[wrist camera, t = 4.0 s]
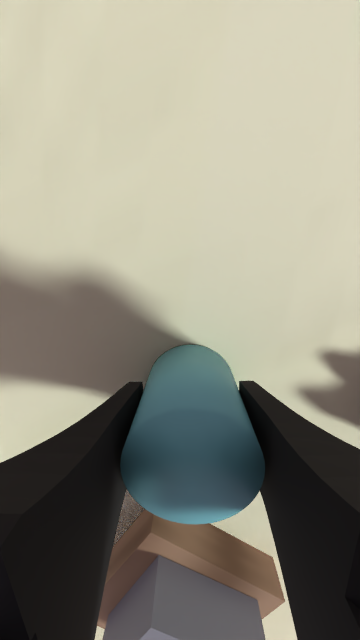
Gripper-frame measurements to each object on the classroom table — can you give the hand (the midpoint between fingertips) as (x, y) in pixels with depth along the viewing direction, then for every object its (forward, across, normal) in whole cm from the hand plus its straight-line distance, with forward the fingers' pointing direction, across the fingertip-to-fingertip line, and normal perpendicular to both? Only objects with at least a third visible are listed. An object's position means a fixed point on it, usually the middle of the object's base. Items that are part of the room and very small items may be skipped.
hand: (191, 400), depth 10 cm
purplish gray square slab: (0, +1, +14) cm, 14 cm away
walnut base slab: (+2, +1, +14) cm, 14 cm away
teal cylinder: (+1, 0, 0) cm, 1 cm away
